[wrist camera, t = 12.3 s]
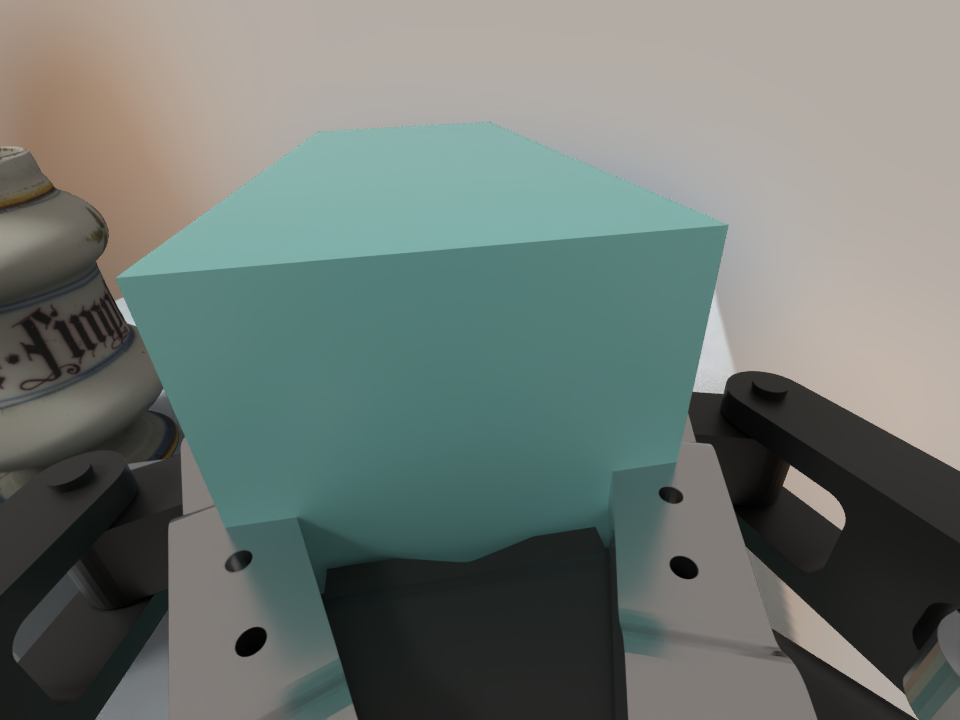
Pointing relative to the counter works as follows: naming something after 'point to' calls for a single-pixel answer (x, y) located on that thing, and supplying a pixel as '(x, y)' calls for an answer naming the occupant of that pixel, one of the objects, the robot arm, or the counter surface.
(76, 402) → the apothecary jar
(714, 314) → the counter surface
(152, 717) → the counter surface
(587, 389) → the teal rectangular block
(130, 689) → the counter surface
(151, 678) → the counter surface
